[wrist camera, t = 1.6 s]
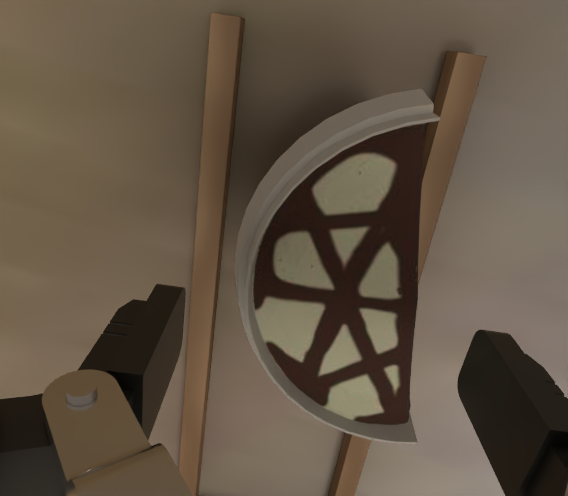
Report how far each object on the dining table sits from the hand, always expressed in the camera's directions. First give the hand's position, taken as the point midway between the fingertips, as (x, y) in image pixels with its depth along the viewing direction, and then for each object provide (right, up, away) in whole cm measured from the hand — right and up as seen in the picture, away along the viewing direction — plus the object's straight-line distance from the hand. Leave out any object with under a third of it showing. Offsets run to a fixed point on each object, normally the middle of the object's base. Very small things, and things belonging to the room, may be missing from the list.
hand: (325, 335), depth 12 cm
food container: (0, +5, +11) cm, 12 cm away
